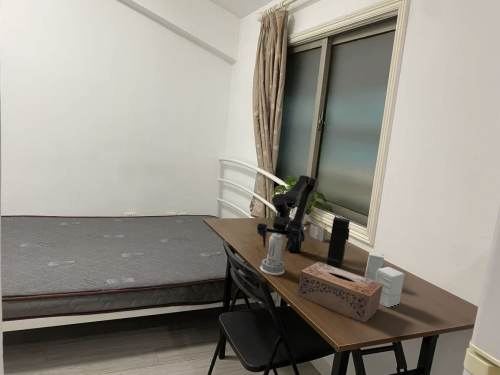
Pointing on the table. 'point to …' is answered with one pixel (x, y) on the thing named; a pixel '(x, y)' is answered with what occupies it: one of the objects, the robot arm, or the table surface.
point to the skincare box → (373, 265)
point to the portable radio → (338, 242)
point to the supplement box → (390, 285)
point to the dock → (272, 268)
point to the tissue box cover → (340, 290)
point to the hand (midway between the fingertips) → (274, 249)
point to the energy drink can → (275, 249)
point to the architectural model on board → (318, 232)
